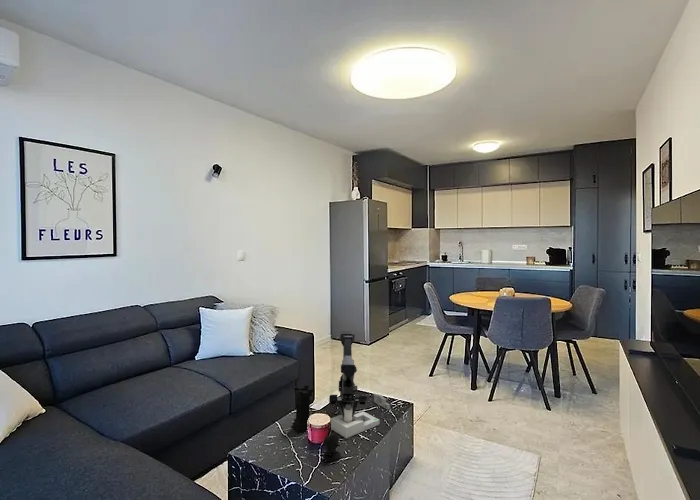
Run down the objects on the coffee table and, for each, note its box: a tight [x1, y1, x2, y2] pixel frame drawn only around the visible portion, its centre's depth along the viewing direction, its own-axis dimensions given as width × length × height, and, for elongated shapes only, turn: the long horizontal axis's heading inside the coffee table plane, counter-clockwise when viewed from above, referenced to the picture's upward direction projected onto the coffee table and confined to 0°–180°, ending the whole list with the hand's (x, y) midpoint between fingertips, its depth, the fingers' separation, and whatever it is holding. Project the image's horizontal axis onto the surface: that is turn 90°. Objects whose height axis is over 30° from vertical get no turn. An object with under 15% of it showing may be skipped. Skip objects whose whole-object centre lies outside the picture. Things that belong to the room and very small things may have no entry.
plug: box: [343, 403, 353, 423], centre depth 189 cm, size 4×4×12 cm
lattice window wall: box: [373, 392, 391, 410], centre depth 217 cm, size 12×2×6 cm, turn 37°
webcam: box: [322, 432, 342, 463], centre depth 164 cm, size 8×8×10 cm
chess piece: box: [291, 384, 314, 435], centre depth 188 cm, size 8×8×20 cm
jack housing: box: [330, 411, 381, 439], centre depth 192 cm, size 12×22×5 cm, turn 131°
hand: (348, 417), depth 187 cm, fingers closed on plug, 4 cm apart
